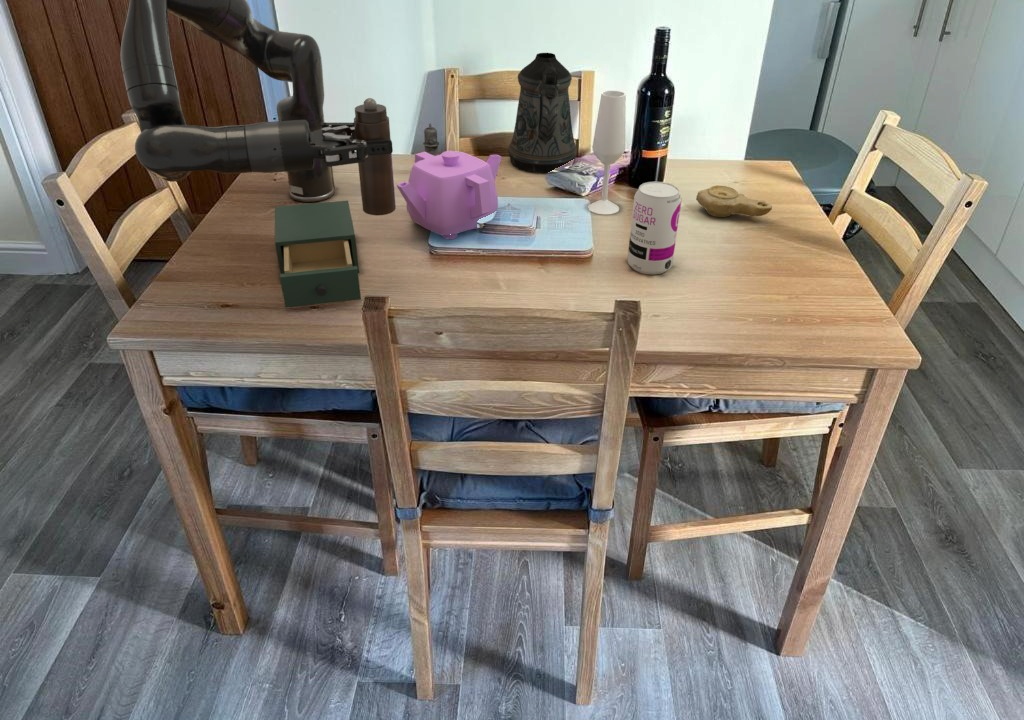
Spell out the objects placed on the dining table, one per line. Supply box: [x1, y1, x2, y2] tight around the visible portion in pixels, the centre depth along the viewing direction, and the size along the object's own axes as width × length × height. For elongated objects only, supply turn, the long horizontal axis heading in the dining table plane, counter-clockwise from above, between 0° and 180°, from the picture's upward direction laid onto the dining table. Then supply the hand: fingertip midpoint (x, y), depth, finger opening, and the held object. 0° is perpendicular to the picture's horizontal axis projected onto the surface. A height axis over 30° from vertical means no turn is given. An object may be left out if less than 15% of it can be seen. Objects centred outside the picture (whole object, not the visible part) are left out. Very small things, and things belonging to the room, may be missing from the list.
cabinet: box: [274, 199, 360, 274], centre depth 140 cm, size 16×14×8 cm
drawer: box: [279, 239, 362, 309], centre depth 131 cm, size 16×12×6 cm
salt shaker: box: [422, 123, 440, 156], centre depth 174 cm, size 6×6×12 cm
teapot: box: [396, 150, 502, 240], centre depth 151 cm, size 19×18×15 cm
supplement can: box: [627, 181, 683, 276], centre depth 137 cm, size 8×8×15 cm
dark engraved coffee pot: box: [507, 52, 578, 174], centre depth 177 cm, size 16×19×25 cm
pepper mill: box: [353, 97, 397, 216], centre depth 121 cm, size 5×5×18 cm
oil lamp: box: [695, 184, 773, 218], centre depth 160 cm, size 11×14×5 cm
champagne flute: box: [587, 89, 627, 215], centre depth 156 cm, size 7×7×24 cm
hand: (389, 139), depth 120 cm, fingers closed on pepper mill, 5 cm apart
